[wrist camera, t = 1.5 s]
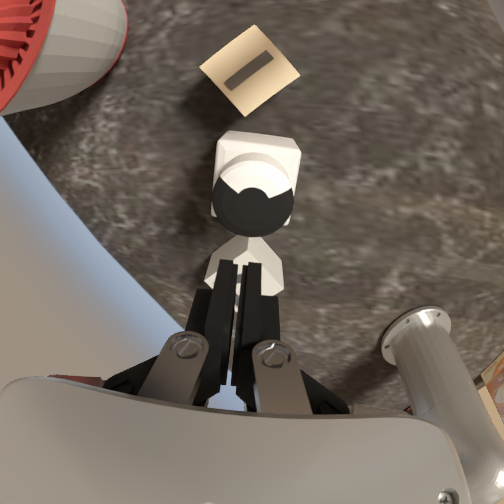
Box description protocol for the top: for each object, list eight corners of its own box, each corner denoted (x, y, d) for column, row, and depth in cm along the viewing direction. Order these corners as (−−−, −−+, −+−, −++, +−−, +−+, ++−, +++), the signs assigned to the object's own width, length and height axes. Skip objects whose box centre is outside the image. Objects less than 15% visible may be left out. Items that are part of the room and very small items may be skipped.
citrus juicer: (136, -47, 20) (39, -117, 2) (158, 76, 28) (35, 72, 10) (32, 8, 22) (-84, 2, 4) (48, 120, 30) (-77, 167, 12)
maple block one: (294, 78, 28) (300, 75, 22) (248, 112, 30) (244, 117, 24) (256, 36, 26) (254, 23, 20) (211, 71, 28) (198, 66, 22)
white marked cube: (281, 260, 38) (283, 290, 33) (243, 285, 40) (240, 317, 35) (250, 225, 36) (247, 251, 31) (212, 253, 38) (203, 282, 33)
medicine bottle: (284, 201, 34) (292, 253, 24) (220, 192, 34) (200, 242, 24) (294, 138, 31) (310, 163, 20) (226, 129, 31) (206, 149, 20)
